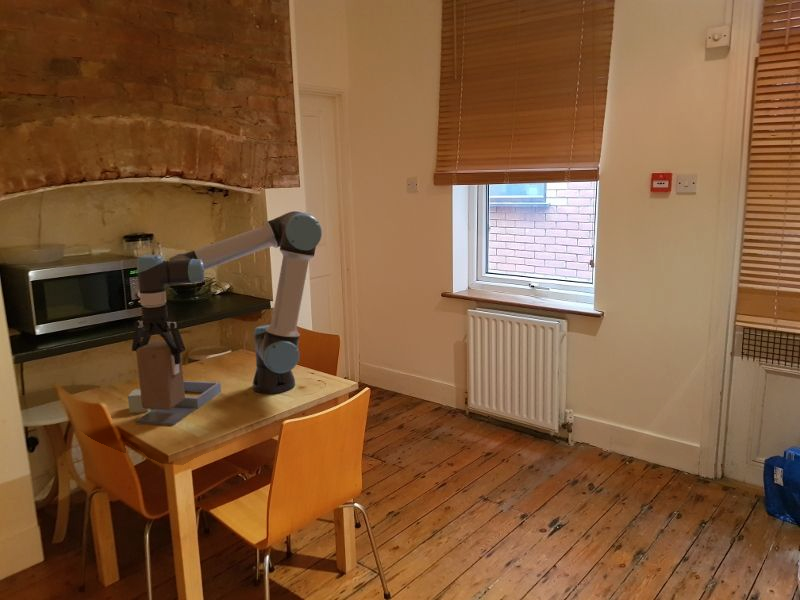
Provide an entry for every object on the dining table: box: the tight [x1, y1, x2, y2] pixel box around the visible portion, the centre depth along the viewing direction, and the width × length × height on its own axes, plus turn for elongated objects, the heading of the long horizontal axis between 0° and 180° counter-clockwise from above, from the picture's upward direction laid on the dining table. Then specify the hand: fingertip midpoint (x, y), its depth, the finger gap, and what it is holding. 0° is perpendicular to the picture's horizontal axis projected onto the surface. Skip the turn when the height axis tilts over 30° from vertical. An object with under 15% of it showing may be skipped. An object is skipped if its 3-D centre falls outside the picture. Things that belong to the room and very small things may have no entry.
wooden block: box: [135, 340, 186, 410], centre depth 197 cm, size 10×10×20 cm
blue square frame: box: [174, 380, 222, 409], centre depth 215 cm, size 16×16×4 cm
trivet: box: [135, 407, 196, 427], centre depth 200 cm, size 13×13×1 cm
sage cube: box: [127, 388, 151, 414], centre depth 206 cm, size 6×6×6 cm
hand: (161, 372), depth 197 cm, fingers closed on wooden block, 10 cm apart
